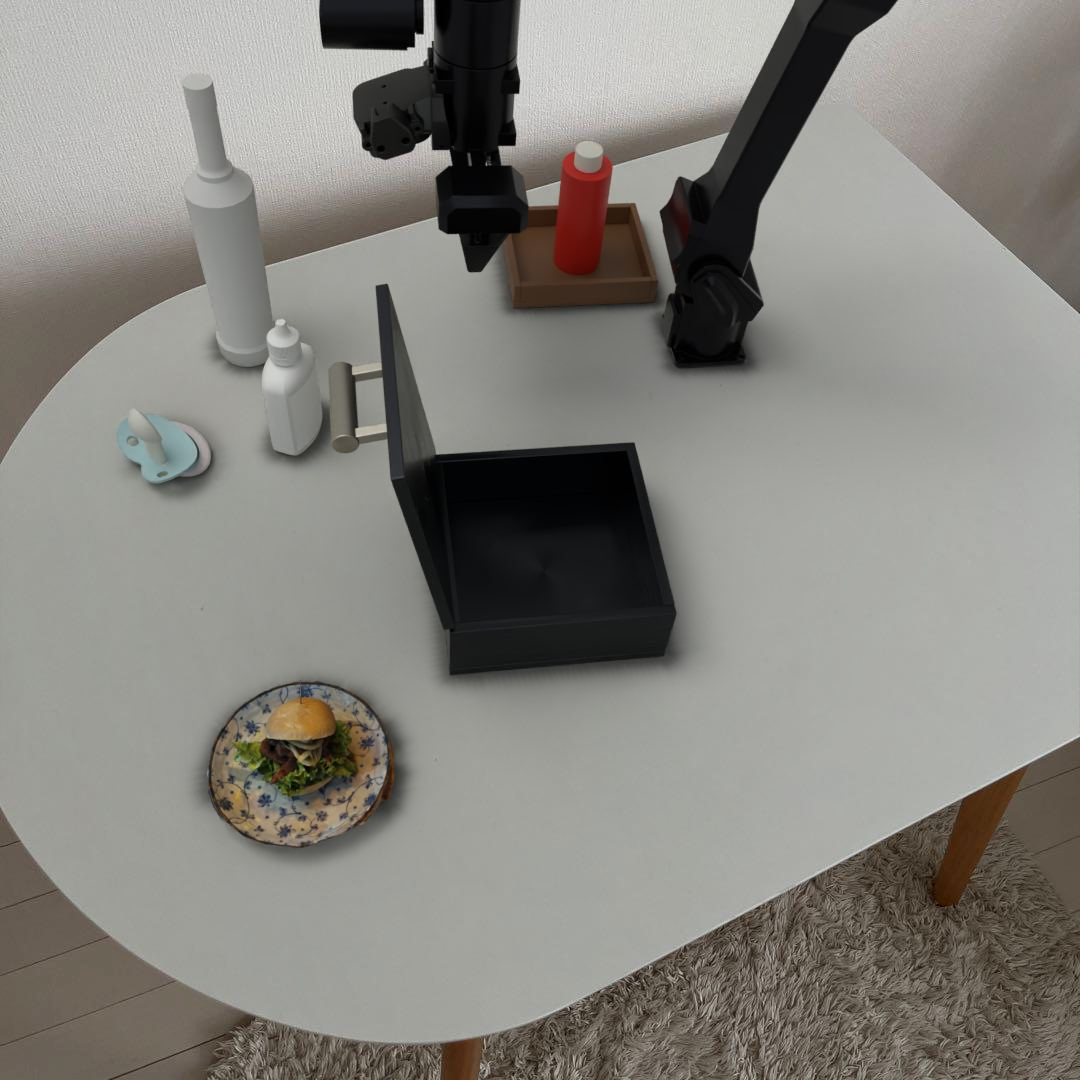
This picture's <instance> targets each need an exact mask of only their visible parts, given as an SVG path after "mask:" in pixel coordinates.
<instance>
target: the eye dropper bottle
mask: <svg viewBox="0 0 1080 1080" xmlns="http://www.w3.org/2000/svg"><path fill="white" fill-rule="evenodd" d="M275 324H276V325H275V327H274V328H272V329H271V330H270V331H269V332H268V334H267V337H266V339H267V345H268V351H269V357H268V359H267V361H266V362H265V363H264V367H263V370H262V374H261V392H262V398H263V405H264V409H265V415H266V420H267V426H268V431H269V435H270V442H271V446H272V448H273V450H274V451H276V452H279V453H280V454H281V453H282V454H285V455H288V456H289V455H290V456H299V455H301V454H302V453H304V452H305V451H306V450H307V449H308V448H309V447H310V446H311V445H312V444H313V443H314V441H315V440H316V439H317V437H318V435H319V433H320V431H321V427H322V423H323V405H322V397H321V389H320V383H319V375H318V368H317V361H316V356H315V351H314V349H313V347H312V346H311V345H309V344H308V343H305V342H302V341H301V337H300V336H301V335H300V332H299V331H298V330H297V329H296V328H294V327H293V326H291V325H288V324H287V322H286V320H285V319H283V318H278V319H277V320H276V321H275Z"/></svg>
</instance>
